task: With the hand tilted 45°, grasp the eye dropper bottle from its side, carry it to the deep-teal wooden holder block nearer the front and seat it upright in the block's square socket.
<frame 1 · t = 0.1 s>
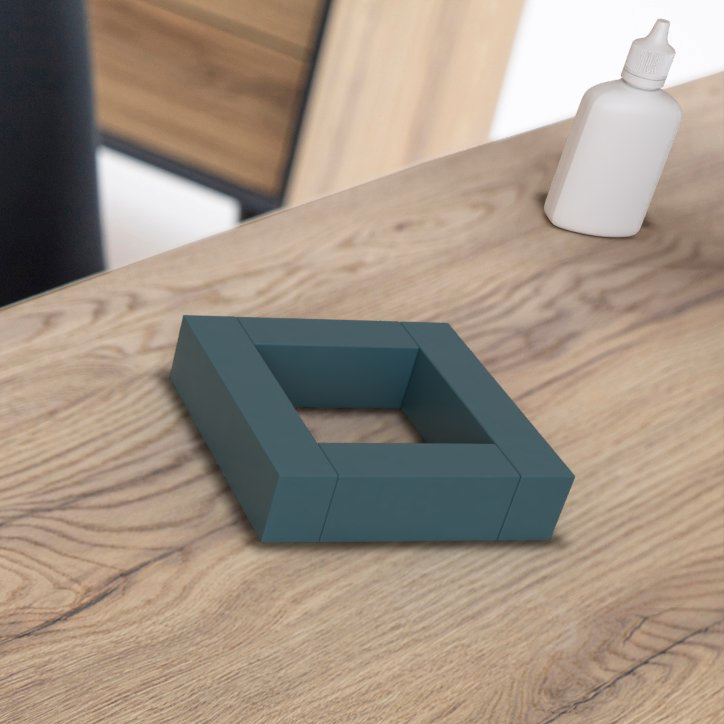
eye dropper bottle: (587, 228, 103), on the table
holder: (347, 472, 76), on the table
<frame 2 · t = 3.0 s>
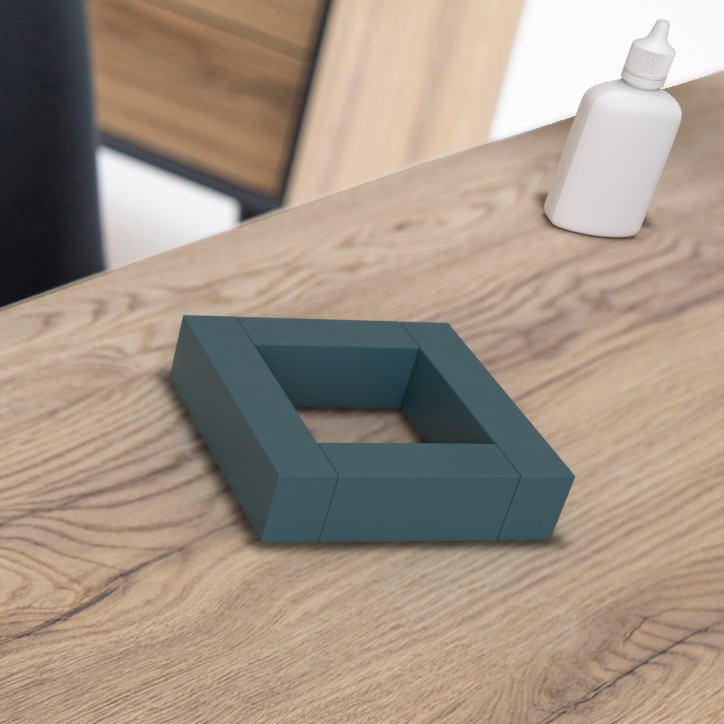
nothing on the table moved.
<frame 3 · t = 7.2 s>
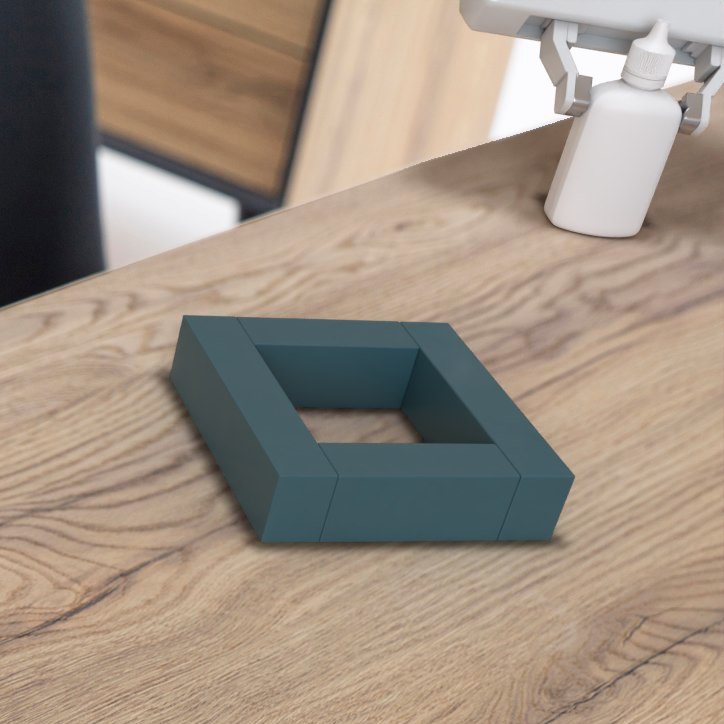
hand: (629, 121, 98), 7 cm above the table, tool tilted 45°, fingers closed on eye dropper bottle, 5 cm apart
eye dropper bottle: (587, 228, 103), on the table, touching gripper
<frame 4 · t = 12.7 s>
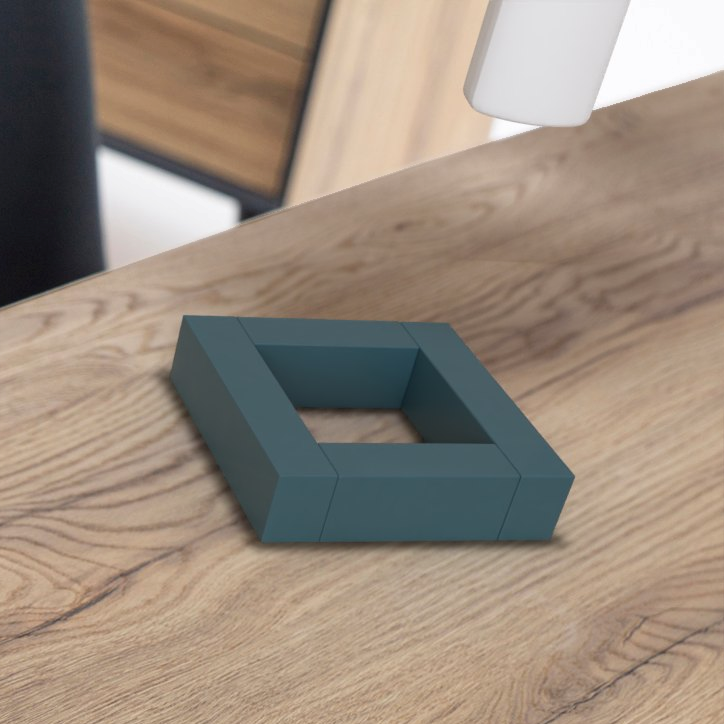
eye dropper bottle: (521, 116, 77), point 13 cm above the table, touching gripper
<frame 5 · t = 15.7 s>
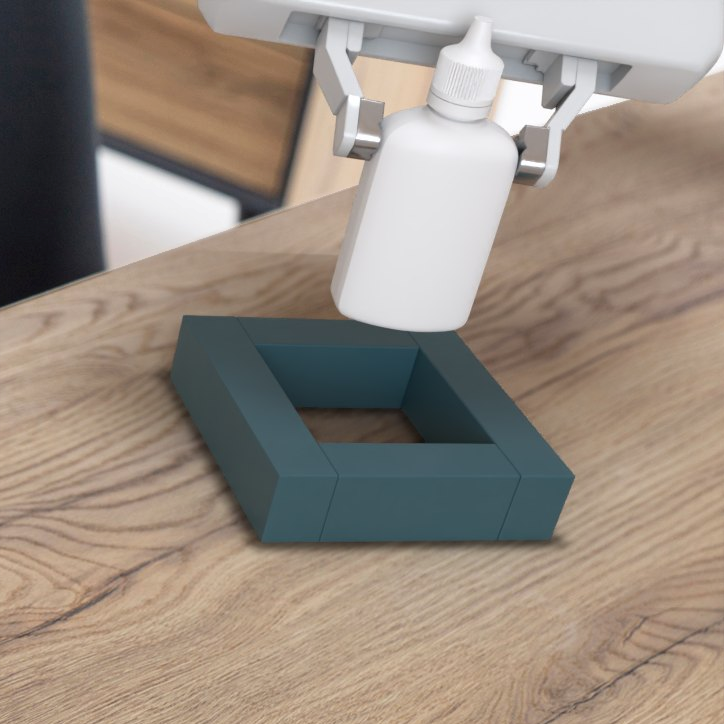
hand: (442, 166, 67), 14 cm above the table, tool tilted 45°, fingers closed on eye dropper bottle, 5 cm apart
eye dropper bottle: (394, 317, 71), point 7 cm above the table, touching gripper
when the fingers open (7 cm above the table, at t = 18.3 s): eye dropper bottle stays where it is, resting in holder.
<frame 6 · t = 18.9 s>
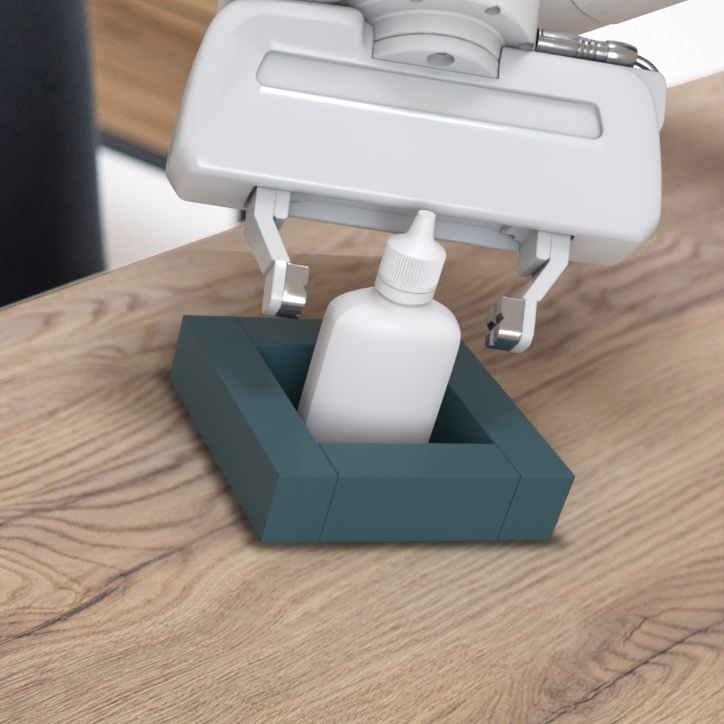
hand: (396, 330, 71), 7 cm above the table, tool tilted 45°, fingers open, 8 cm apart
eye dropper bottle: (347, 475, 76), resting in holder
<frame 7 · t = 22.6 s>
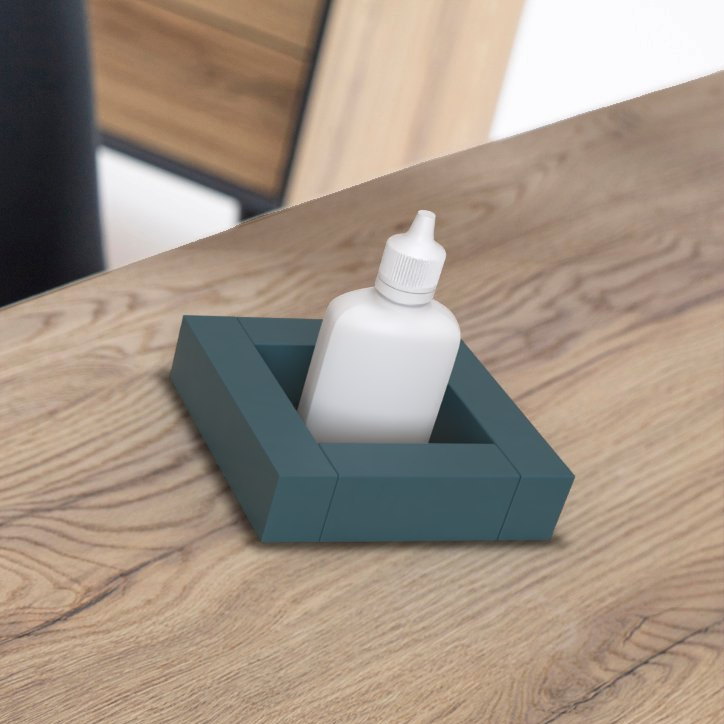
nothing on the table moved.
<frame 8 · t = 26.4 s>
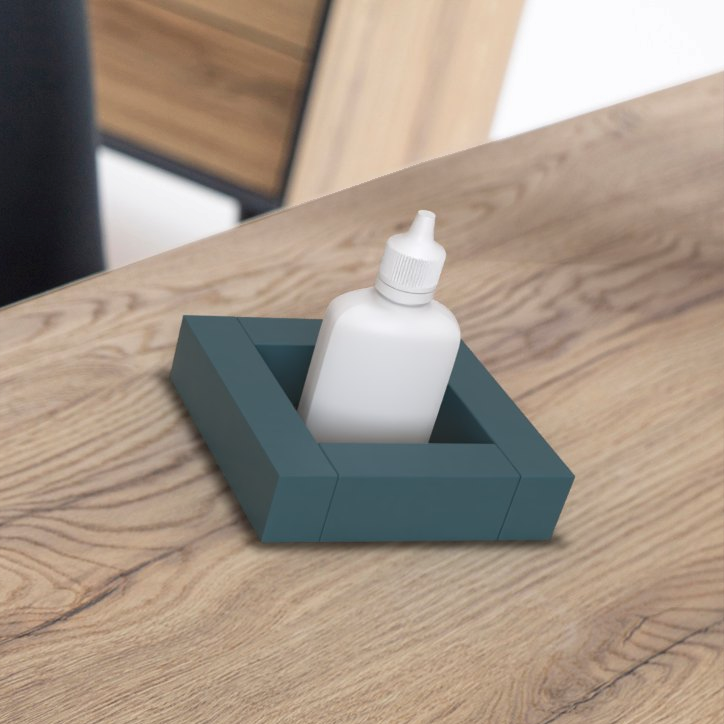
nothing on the table moved.
at the end: eye dropper bottle 0.1 cm off-centre in the holder, point 0.0 cm above the holder's base; eye dropper bottle tilted 0°; the gripper is holding nothing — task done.
